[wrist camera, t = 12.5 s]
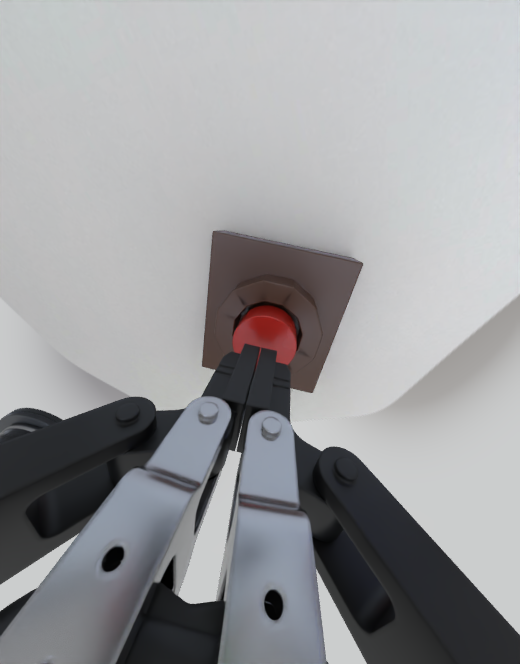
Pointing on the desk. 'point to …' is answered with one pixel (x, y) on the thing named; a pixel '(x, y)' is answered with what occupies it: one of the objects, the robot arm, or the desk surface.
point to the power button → (267, 332)
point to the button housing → (277, 297)
